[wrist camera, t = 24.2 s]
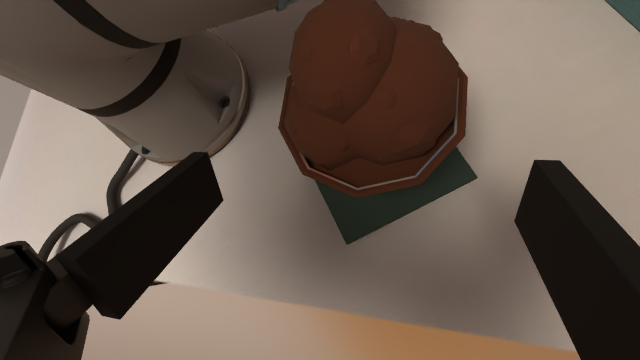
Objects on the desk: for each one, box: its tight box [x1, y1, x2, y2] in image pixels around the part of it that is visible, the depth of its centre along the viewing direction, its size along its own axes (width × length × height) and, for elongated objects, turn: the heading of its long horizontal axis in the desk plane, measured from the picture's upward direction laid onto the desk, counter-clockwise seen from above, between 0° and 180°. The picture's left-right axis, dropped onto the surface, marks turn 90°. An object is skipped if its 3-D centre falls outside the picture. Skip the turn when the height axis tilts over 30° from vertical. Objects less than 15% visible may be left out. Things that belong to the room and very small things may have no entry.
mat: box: [315, 147, 477, 244], centre depth 26 cm, size 12×12×1 cm
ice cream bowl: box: [278, 0, 468, 198], centre depth 19 cm, size 11×11×15 cm
